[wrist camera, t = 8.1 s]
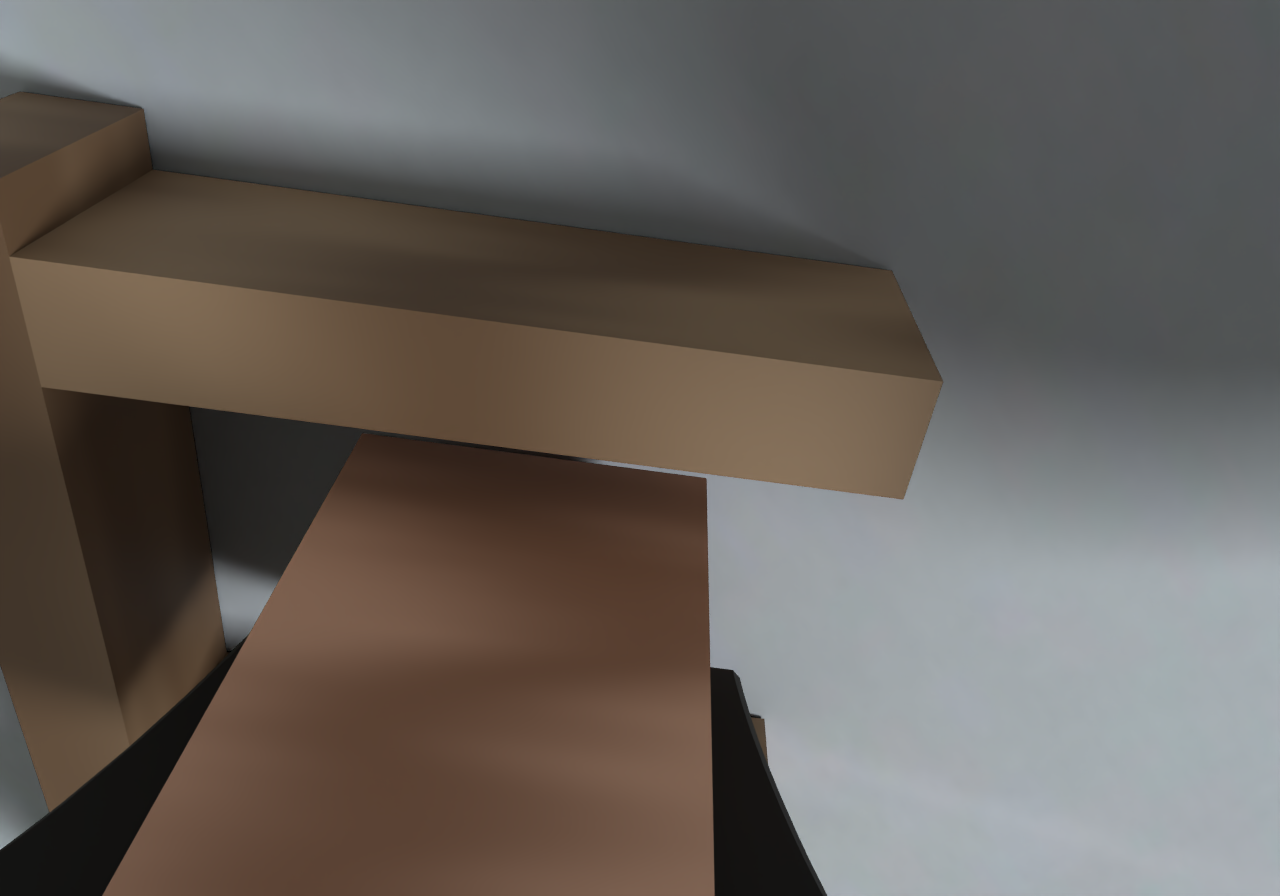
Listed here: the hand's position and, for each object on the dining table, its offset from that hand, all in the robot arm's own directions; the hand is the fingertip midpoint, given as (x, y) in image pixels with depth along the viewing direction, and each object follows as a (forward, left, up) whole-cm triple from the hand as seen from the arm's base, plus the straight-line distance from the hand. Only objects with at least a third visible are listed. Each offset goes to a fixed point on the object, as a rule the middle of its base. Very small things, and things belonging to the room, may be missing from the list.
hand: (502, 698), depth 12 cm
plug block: (0, 0, -2) cm, 2 cm away
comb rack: (+1, +4, -3) cm, 6 cm away
